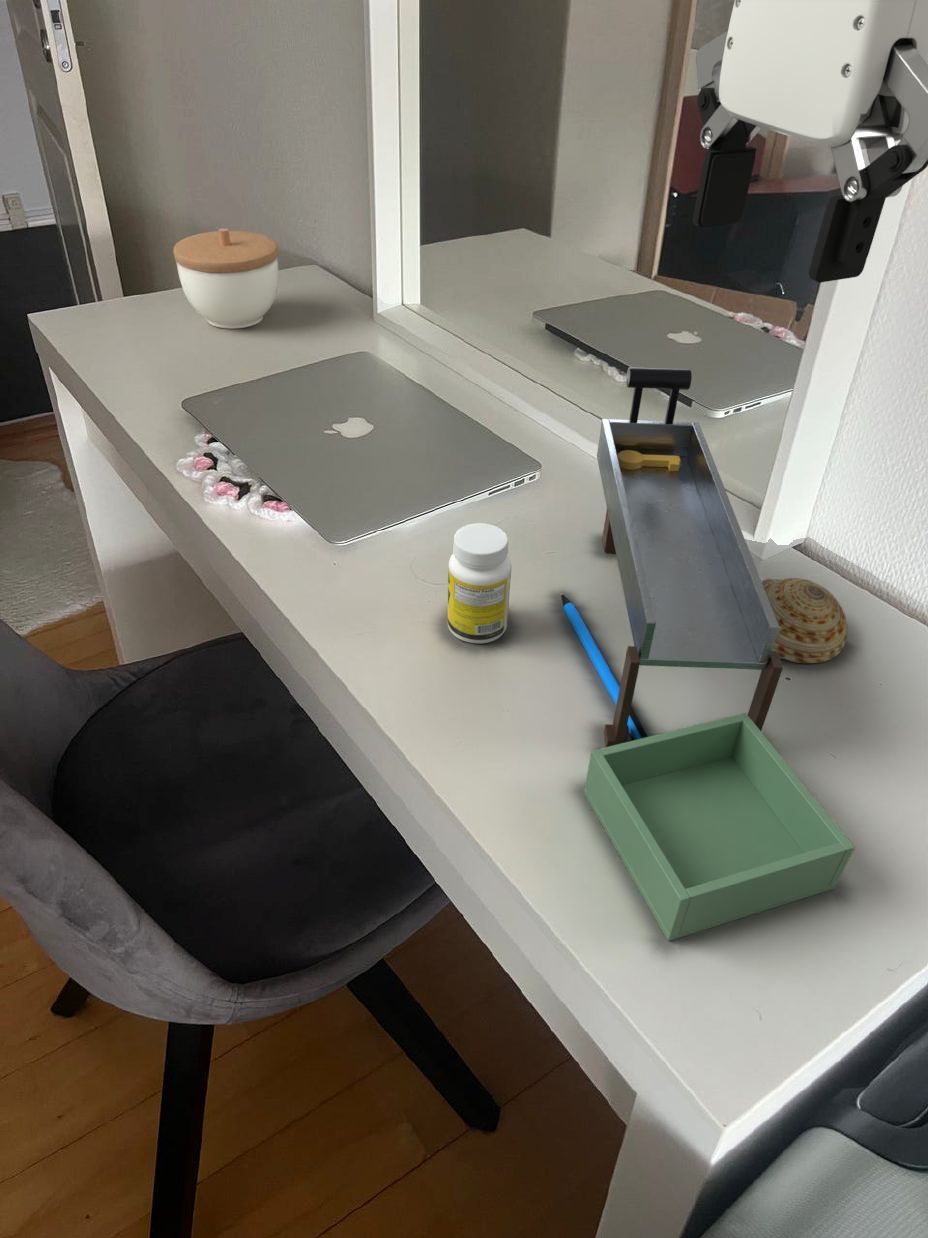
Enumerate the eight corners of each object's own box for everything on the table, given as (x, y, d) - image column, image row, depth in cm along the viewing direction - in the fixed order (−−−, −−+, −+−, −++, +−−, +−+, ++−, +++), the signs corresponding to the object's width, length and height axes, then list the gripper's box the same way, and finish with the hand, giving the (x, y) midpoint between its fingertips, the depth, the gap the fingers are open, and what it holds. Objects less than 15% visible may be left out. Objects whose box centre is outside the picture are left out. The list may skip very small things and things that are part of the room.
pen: (648, 771, 61) (651, 760, 60) (555, 599, 75) (557, 588, 74) (661, 769, 61) (664, 757, 60) (565, 597, 75) (567, 586, 75)
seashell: (801, 561, 76) (870, 582, 69) (800, 625, 78) (867, 653, 71) (716, 578, 74) (778, 601, 67) (717, 643, 76) (777, 673, 68)
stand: (576, 539, 82) (586, 460, 77) (694, 543, 82) (712, 464, 77) (606, 749, 62) (622, 662, 57) (761, 754, 62) (791, 667, 57)
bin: (732, 753, 62) (746, 712, 60) (834, 888, 54) (855, 847, 52) (583, 792, 59) (590, 750, 57) (668, 941, 51) (681, 900, 48)
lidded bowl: (206, 344, 112) (192, 252, 105) (170, 310, 120) (155, 222, 113) (300, 325, 117) (293, 236, 110) (260, 294, 125) (251, 209, 118)
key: (617, 469, 76) (619, 462, 76) (614, 456, 78) (616, 449, 78) (681, 471, 76) (682, 464, 76) (676, 458, 78) (678, 451, 78)
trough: (596, 453, 80) (608, 363, 74) (689, 456, 80) (709, 366, 74) (637, 665, 58) (659, 560, 53) (765, 670, 58) (800, 565, 53)
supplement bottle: (462, 600, 74) (466, 513, 69) (516, 617, 73) (524, 529, 67) (436, 634, 71) (438, 545, 65) (492, 653, 69) (498, 563, 64)
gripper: (1109, -154, 35) (944, 293, 46) (799, -154, 47) (726, 201, 58) (971, -165, 32) (831, 313, 43) (680, -162, 44) (627, 212, 55)
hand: (771, 248), depth 50 cm, fingers open, 9 cm apart
